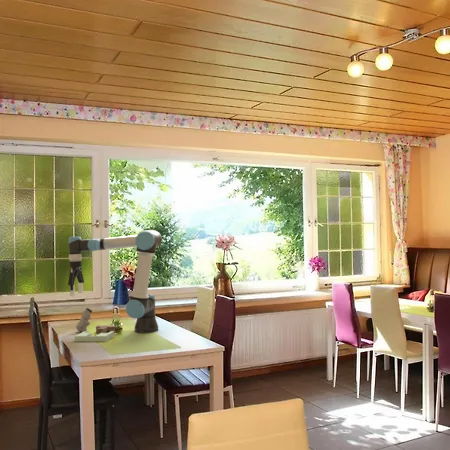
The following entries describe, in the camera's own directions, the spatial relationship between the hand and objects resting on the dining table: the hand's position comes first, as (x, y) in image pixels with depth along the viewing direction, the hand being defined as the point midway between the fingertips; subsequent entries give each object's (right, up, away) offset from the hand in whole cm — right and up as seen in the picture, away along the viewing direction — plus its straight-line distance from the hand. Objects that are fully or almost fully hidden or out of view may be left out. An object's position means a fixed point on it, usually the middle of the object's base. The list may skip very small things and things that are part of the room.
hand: (76, 294), depth 335 cm
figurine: (+3, -25, +5) cm, 25 cm away
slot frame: (+16, -24, -19) cm, 35 cm away
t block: (+18, -24, -3) cm, 30 cm away
